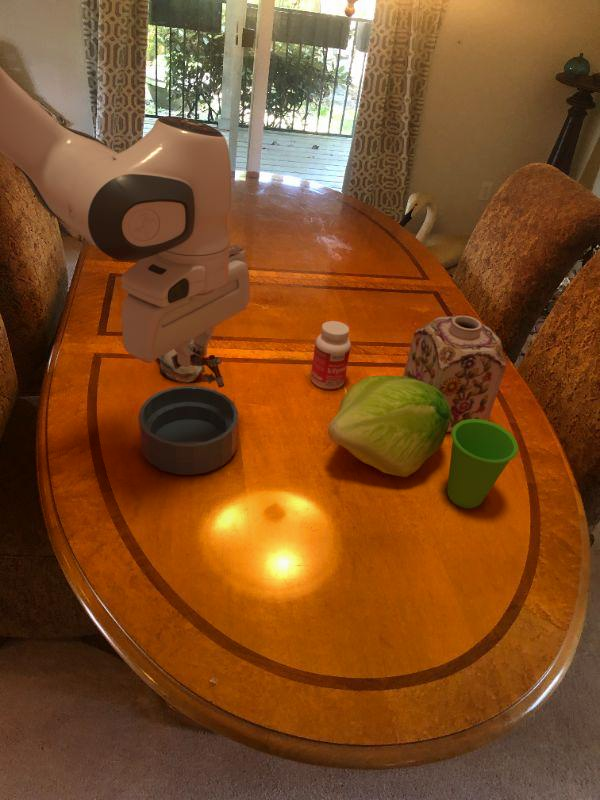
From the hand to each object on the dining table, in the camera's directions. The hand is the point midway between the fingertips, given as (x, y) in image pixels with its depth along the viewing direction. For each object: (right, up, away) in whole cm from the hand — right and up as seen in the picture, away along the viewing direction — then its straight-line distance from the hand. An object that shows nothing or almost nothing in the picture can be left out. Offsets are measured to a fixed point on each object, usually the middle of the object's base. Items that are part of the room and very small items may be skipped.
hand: (192, 360), depth 82 cm
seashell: (-8, +1, +28) cm, 29 cm away
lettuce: (+27, -14, +14) cm, 33 cm away
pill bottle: (+19, -2, +29) cm, 35 cm away
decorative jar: (+39, -8, +25) cm, 47 cm away
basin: (-2, -12, +11) cm, 17 cm away
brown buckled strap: (+1, -2, +1) cm, 3 cm away
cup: (+38, -20, +8) cm, 44 cm away
